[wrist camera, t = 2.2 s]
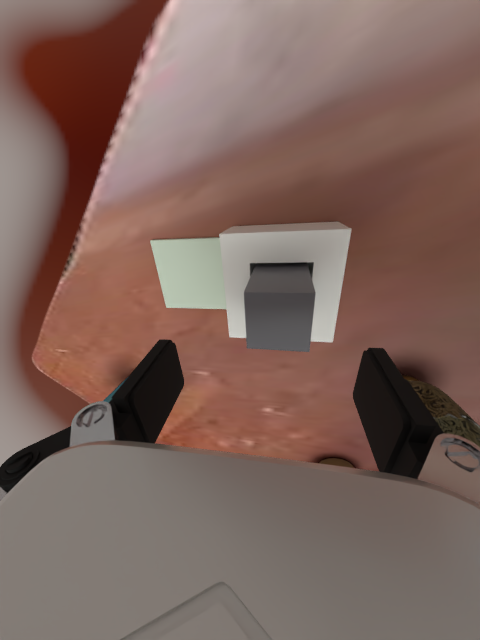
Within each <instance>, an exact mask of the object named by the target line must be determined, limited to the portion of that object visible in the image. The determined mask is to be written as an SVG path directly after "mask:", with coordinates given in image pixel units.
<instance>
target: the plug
mask: <svg viewBox="0 0 480 640" xmlns="http://www.w3.org/2000/svg"><path fill="white" fill-rule="evenodd" d="M315 295H316V292H315V289H314V285H313V282H312V278H311V275H310V271H309V268H308V264H307V262H295V263H256V265H255V268H254V270H253V272H252V275H251V277H250V279H249V281H248V284H247V286H246V288H245V290H244V305H245V323H246V341H247V348H251V349H268V350H285V351H302V352H309V350H310V341H311V332H312V322H313V313H314V304H315Z"/></svg>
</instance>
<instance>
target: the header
mask: <svg viewBox="0 0 480 640" xmlns="http://www.w3.org/2000/svg"><path fill="white" fill-rule="evenodd" d="M350 235H351V228H349V227H347V226H345V225H344V224H342V223H340V222H317V223H294V224H272V225H250V226H232V227H230V228H228V229H227V230H225V231H223V232H222V233H220V234H219V237H220V247H221V257H222V267H223V277H224V287H225V297H226V307H227V317H228V327H229V337H236V338H246V323H245V305H244V290H245V288H246V286H247V284H248V281H249V279H250V277H251V275H252V272H253V270H254V268H255V265H256V263H295V262H307V264H308V268H309V271H310V275H311V278H312V282H313V285H314V289H315V292H316V295H315V304H314V313H313V322H312V332H311V341H316V342H333V337H334V331H335V325H336V319H337V313H338V307H339V301H340V295H341V289H342V283H343V277H344V271H345V265H346V259H347V253H348V247H349V241H350Z"/></svg>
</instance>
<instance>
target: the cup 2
mask: <svg viewBox="0 0 480 640" xmlns="http://www.w3.org/2000/svg"><path fill="white" fill-rule="evenodd" d="M402 376H403V378H405V379H406V380H408V381H409V383H410V384H411V385H412V387H413V388H414V390H415V391H416V393H417V394H418V396H419V397H420V399H421V400H422V402H423V403H424V404H425V406H426V407H427V409H428V410H429V412H430V413H431V415H432V416H433V418H434V419H435V421H436V422H437V423H438V425H439V426H440V428H441V429H442V431H443V432H444V433H446V434H454V435H458V436H461V437H463V438H466V439H468V440H470V441H471V442H473V443H475V444H476V445H478V446H479V447H480V440H479V439H480V426H479V425H478V424H477V423H476V422H475V421H474V420H473V419H472V418H471V417H470V416H469V415H468V414H467V413H466V412H465V411H464V410H463V409H462V408H461V407H460V406H458V405H457V404H456V403H455V402H454V401H453V400H452V399H451V398H450V397H449V396H448V395H447V394H445V393H444V392H443V391H441V390H440V389H439V388H437V387H435V386H433V385H431V384H428V383H425V382H421V381H419V380H418V379H416V378H414V377H412V376H409V375H402Z"/></svg>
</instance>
